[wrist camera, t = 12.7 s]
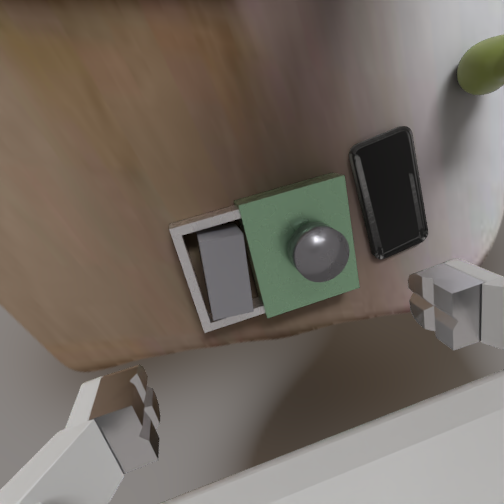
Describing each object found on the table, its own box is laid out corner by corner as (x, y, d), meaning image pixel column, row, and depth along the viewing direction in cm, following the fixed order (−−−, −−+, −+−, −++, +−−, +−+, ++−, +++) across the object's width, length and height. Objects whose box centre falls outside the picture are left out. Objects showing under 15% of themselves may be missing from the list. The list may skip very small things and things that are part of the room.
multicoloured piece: (167, 219, 37) (167, 233, 31) (332, 172, 39) (358, 178, 34) (204, 325, 42) (208, 354, 36) (347, 278, 44) (372, 298, 39)
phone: (376, 262, 44) (350, 148, 38) (372, 259, 45) (345, 147, 39) (430, 238, 44) (411, 122, 39) (424, 235, 45) (405, 123, 40)
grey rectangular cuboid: (195, 229, 38) (199, 242, 34) (234, 222, 39) (243, 234, 34) (208, 300, 41) (213, 320, 37) (244, 292, 42) (253, 311, 37)
